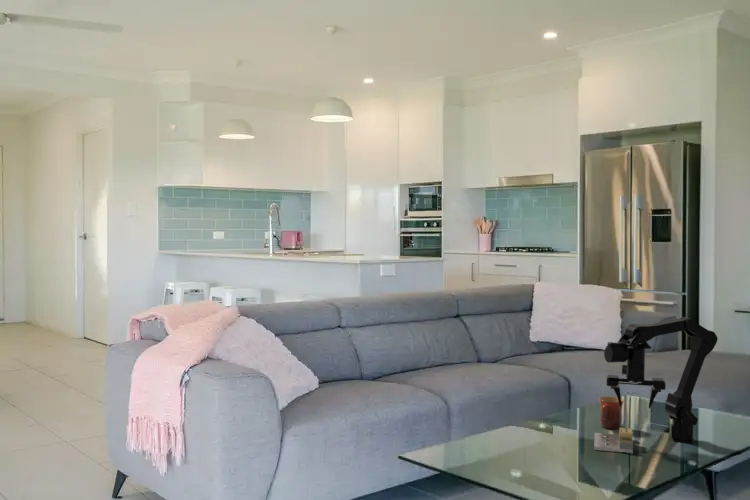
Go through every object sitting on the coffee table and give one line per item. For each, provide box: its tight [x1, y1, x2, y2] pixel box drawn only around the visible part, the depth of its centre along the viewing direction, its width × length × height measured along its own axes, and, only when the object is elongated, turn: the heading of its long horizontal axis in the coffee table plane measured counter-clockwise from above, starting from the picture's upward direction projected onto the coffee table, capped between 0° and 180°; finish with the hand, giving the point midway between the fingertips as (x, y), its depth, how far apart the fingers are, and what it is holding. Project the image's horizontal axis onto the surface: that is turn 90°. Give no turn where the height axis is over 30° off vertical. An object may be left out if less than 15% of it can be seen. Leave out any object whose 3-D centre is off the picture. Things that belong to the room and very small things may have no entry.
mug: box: [598, 395, 625, 430], centre depth 267 cm, size 12×9×10 cm
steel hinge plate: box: [593, 432, 634, 454], centre depth 248 cm, size 12×16×3 cm
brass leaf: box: [618, 426, 633, 444], centre depth 247 cm, size 4×6×4 cm, turn 162°
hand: (634, 407), depth 250 cm, fingers open, 9 cm apart
